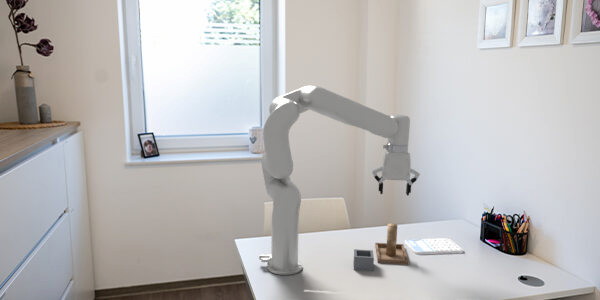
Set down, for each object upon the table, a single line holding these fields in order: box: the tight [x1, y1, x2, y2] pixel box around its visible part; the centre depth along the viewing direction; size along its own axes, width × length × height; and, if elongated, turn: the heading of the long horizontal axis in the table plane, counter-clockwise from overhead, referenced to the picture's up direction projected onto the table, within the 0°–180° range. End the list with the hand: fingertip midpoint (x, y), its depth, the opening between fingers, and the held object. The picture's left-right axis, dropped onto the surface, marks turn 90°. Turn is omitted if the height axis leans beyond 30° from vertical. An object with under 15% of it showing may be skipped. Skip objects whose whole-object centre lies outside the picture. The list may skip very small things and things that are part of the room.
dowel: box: [386, 223, 398, 257], centre depth 176 cm, size 4×4×12 cm
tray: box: [374, 242, 409, 266], centre depth 177 cm, size 16×11×2 cm
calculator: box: [404, 237, 464, 255], centre depth 188 cm, size 13×20×2 cm, turn 98°
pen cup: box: [353, 248, 375, 272], centre depth 166 cm, size 7×7×6 cm
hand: (394, 193), depth 173 cm, fingers open, 9 cm apart
